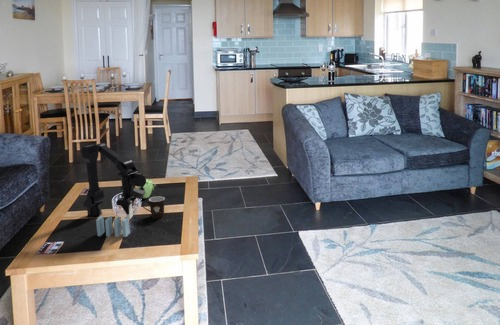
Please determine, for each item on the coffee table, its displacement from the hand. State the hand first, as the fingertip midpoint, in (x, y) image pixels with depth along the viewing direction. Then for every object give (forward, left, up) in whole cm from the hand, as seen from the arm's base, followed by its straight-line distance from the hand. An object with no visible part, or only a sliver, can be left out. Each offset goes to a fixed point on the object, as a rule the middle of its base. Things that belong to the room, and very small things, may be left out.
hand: (129, 212), depth 237 cm
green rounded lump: (-4, +42, -7) cm, 43 cm away
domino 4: (+3, -14, -6) cm, 16 cm away
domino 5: (0, 0, -3) cm, 3 cm away
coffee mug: (+10, +12, -7) cm, 17 cm away
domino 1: (-10, -14, -6) cm, 18 cm away
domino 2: (-6, -14, -6) cm, 16 cm away
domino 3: (-1, -14, -6) cm, 15 cm away
